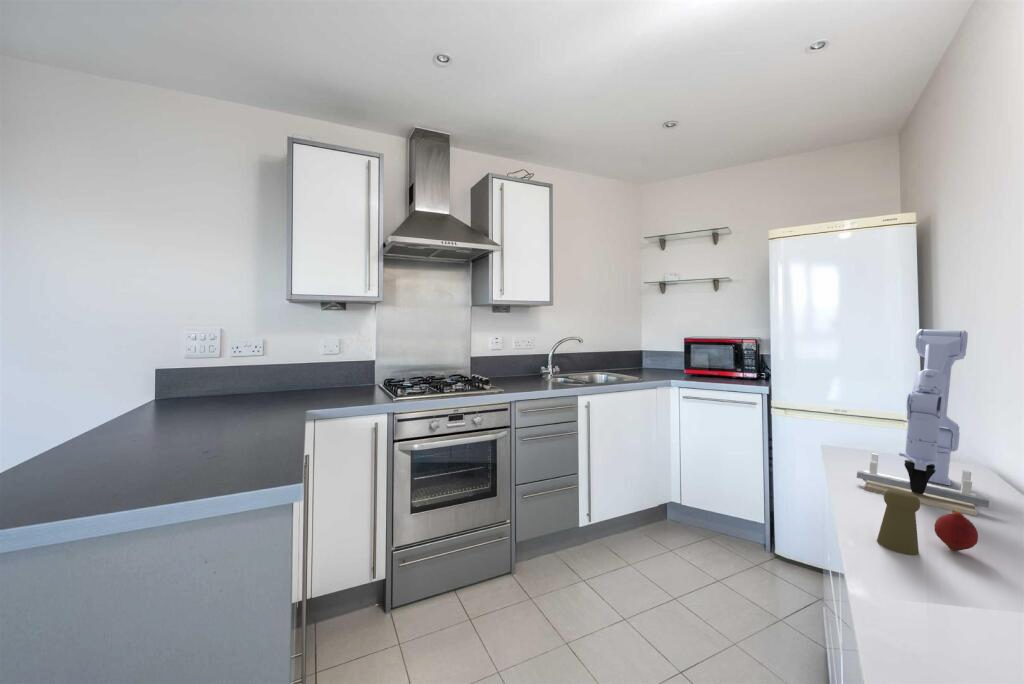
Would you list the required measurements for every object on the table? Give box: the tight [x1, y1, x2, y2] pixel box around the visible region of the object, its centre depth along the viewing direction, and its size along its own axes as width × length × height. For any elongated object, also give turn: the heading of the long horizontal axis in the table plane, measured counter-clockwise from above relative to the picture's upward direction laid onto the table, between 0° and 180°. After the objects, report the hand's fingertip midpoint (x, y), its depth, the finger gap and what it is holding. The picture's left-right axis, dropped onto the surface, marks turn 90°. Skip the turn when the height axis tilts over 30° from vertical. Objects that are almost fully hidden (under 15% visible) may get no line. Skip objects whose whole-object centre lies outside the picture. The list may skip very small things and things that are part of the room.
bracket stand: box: [863, 452, 978, 506], centre depth 113 cm, size 5×22×7 cm, turn 46°
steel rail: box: [856, 470, 990, 508], centre depth 107 cm, size 2×24×2 cm, turn 46°
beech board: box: [864, 480, 978, 517], centre depth 107 cm, size 8×20×1 cm, turn 46°
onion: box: [934, 509, 979, 552], centre depth 81 cm, size 6×6×8 cm
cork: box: [876, 489, 921, 556], centre depth 81 cm, size 6×6×11 cm
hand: (917, 491), depth 107 cm, fingers closed on steel rail, 2 cm apart
